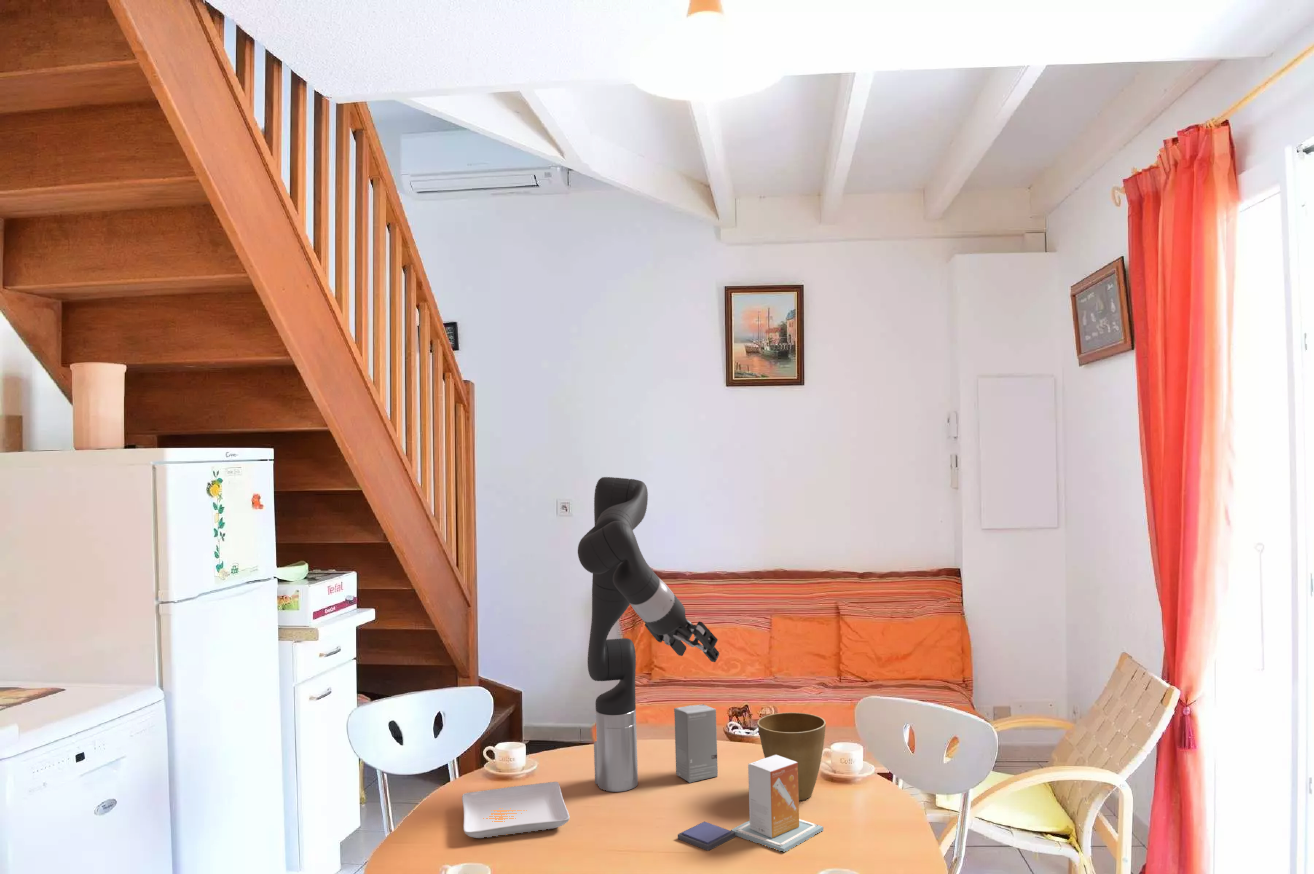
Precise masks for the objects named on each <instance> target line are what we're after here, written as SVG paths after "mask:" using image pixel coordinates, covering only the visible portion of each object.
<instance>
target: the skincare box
mask: <svg viewBox="0 0 1314 874" xmlns="http://www.w3.org/2000/svg"><path fill="white" fill-rule="evenodd" d="M673 712H674V714H673V715H674V740H675V741H674V743H675V744H674V745H675V746H674V749H675V750H674V751H675V752H674V753H675V775H676V776H678V777H679V778H682V779H683V780H685V781H687V782H688V783H693V782H698V781H699V782H700V781H702V780H706V779H711V778H717V777H718V775H719V774H718V767H719V766H718V738H717V737H718V735H717V731H718V729H717V709H716V708H715V707H714V708H713V707H711V706H708V705H706V704H704V703H703V704H702V703H701V704H693V705H686V706H679V707H675V708H673Z"/></svg>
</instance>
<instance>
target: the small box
mask: <svg viewBox="0 0 1314 874" xmlns="http://www.w3.org/2000/svg"><path fill="white" fill-rule="evenodd" d="M747 768H748V770H747V771H748V777H747V778H748V802H749V803H748V807H749V810H748V811H749V815H748V816H749V820H750V829H752V830H754V831H756V832H758V833H761V834H763V835H765V836H768V837H770V838H773V837H776V836H778V835H780V834H783V833H785V832H787V831H790V830H792V829H795V828H798V827H799V819H800V805H799V804H800V802H799V801H800V800H799V793H798V762H796V761H793V760H790V759H787V758H784V757H782V756H779V755H773V756H770V757H767V758H765V757H763V758H761V759H759V760H756V761H753V762H750V763H748V764H747Z"/></svg>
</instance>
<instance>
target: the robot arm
mask: <svg viewBox="0 0 1314 874" xmlns="http://www.w3.org/2000/svg"><path fill="white" fill-rule="evenodd" d="M648 496H649V493H648V486H647V485H646V484H645V482H643V481H641V480H638V479H634V478H623V477H615V476H614V477H613V476H609V477H608V476H601V477H600V478H599V479H598V480H597V482H596V485H595V489H594V498H593V499H594V500H593V502H594V503H593V508H594V509H593V513H594V517H593V518H594V525H593V527H592V528H591V529H589V530H588V532H586V533H585V534H584V536H582V538H581V539H580V541H578V546H577V556H578V560H579V563H580V564H581V566H582V567H583V568H584V570H585V571H587V572H588V573H590V574H592V581H591V582H592V583H591V585H592V586H591V624H590V633H589V640H588V650H587V651H588V652H587V670H588V674H589V675H588V676H589V677H590V678H591V680H593V681H595V682H608V681H609V682H610V681H619V682H618V683H617V684H616V685H615V686H614V687H612V688H611V689H610V690H608V691H606V692H604V693H601V694H600V695H598V696H597V697H596V698H595V723H596V724H595V726H596V728H595V730H596V731H595V732H596V733H595V734H596V740H595V741H594V742H593V754H594V755H593V756H594V757H593V760H594V783H595V785H597V786H599V787H598V788H599V789H601V790H602V789H604V790H603V791H605V790H606V791H605V792H614V793H615V792H626V791H629V790H632V789H635V788H636V787H638V784H639V770H638V769H639V767H638V741H637V740H638V739H637V736H638V735H637V734H638V733H637V709H636V708H637V707H636V704H637V703H636V673H637V672H636V667H637V666H636V665H637V660H636V659H637V655H636V649H635V648H636V646H635V645H634V642H633V640H632V639H631V638H626V637H625V638H612V639H608V635H609V633H610V632H611V630H612V628H613V627H614V625H615V624H616V623H617V622H618V621H619V619H620V618H622V615H624V613H625V612H626V610H628V608H629V607H630V606H631V608H632V609H633V610H634V612H635V613H636V614H637V615H638V617H639V618H641V620H642V622H644V627H645V628H646V629H647V630H648V631H649V633H650V634H651V635H652V636H653V637H654V639H655V640H656V642H658V643H662V642H664V644H665V645H666V646H669V647H671V648H672V651H674V652H675V654H676V655H678V656H679V657H683V656H684V654H685V652H686V651H687V646H686V645H688V646H689V647H691V648H694V647H695V648H698V649H699V650H701V651H702V653H703V654H704V655H705V656H706V657H707V658H708V659H709V661H710V663H711V662H713V663H716V662H717V660H718V658H719V657H720V652H719V651H718V649H717V648H716V647H715V646H716V644H717V642H718V640H719V639H718V638H717V637H716V636H715V634H713V633H712V631H711V630H710V628H708V627H707V625H706V624H704V622H702V621H698V622H697V623H696V624H694V623H692V622H691V621H690V620H689V619H687V617H686V608H685V606H684V604H683V603H682V601H681V600H680V599H679V598H678V597H677V596H676V595H675V594H674V592H673V591H672V590H671V589H670V588H669V586H668V585H667V583H665V581H663V580H662V579H661V578H660V577H659V576H658V575H657V574H656V573H655V572H654V570H653V569H652V567H650V566H649V564H648V562H647V561H646V560H645V558H644V556H643V554H642V551H641V549H640V547H639V543H638V540H637V537H636V535H635V533H634V530H635V529H636V528H637V527H638V525H640V524H641V523H642V522H643V520H644V518H645V516H646V513H647V507H648V500H649V499H648V498H649V497H648ZM692 636H694V638H693V640H691V638H692ZM699 642H700V643H699ZM685 644H686V645H685Z"/></svg>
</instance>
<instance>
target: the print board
mask: <svg viewBox="0 0 1314 874" xmlns="http://www.w3.org/2000/svg"><path fill="white" fill-rule="evenodd" d="M730 831H733V832H735V837H737V838H741V837H742V838H741V839H744V840H747V841H749V840H750V841H749V842H752V841H753V842H752V843H755V844H757V843H760V844H762V845H761V846H763V845H766V846H768V847H767V848H769V847H770V848H769V849H771V848H775V849H777V850H779V851H778V852H780V851H783V852H785V851H787V852H789V851H790V850H789V849H791V848H792V849H794V848H796V847H797V846H796V845H798V846H799V845H801V844H803V843H804V841H805V840H806V841H808V840H809V838H810V837H812V838H813V837H815V836H816V835H815V834H817V833H819V832H820V833H822V832H824V826H822V825H819V824H816V823H813V822H809V821H808V820H803V819H801V818H799V827H798V828H795V829H792V830H790V831H787V832H785V833H783V834H780V835H778V836H776V837H773V838H770V837H768V836H765V835H763V834H761V833H758V832H756V831H754V830H752V829H750V819H749V820H748V821H745V822H743V823H742V824H739V825H737V826H736V827H734V828H732V829H730ZM821 831H822V832H821ZM820 833H819V834H820ZM814 835H815V836H814ZM817 835H818V834H817ZM810 839H811V838H810ZM806 841H805V842H806ZM800 843H801V844H800ZM760 844H759V845H760ZM766 846H765V847H766ZM795 846H796V847H795ZM793 847H794V848H793ZM792 849H791V850H792ZM777 850H776V851H777ZM788 850H789V851H788ZM785 853H786V852H785Z"/></svg>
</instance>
